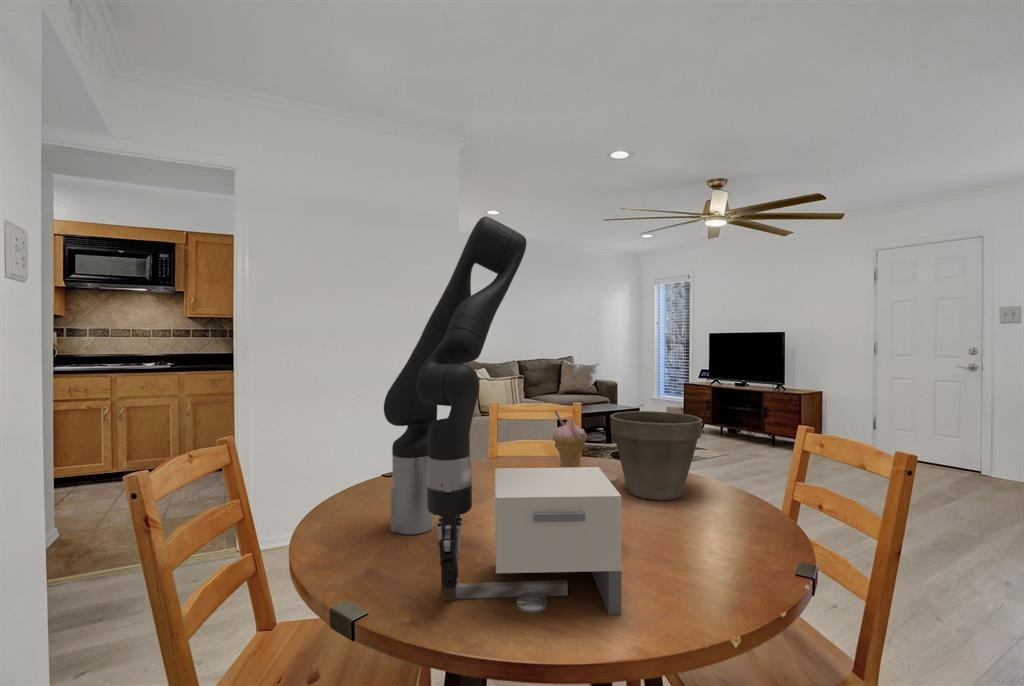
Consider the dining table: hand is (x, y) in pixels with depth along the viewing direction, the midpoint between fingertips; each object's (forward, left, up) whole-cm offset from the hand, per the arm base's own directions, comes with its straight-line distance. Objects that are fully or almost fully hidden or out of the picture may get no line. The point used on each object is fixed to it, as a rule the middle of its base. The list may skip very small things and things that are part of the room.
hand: (450, 582), depth 89 cm
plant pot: (+53, +57, -3) cm, 77 cm away
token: (+14, -3, -3) cm, 14 cm away
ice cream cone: (+32, +78, -3) cm, 84 cm away
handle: (+31, +20, -3) cm, 37 cm away
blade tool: (+9, 0, -3) cm, 10 cm away
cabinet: (+18, +3, -3) cm, 18 cm away
